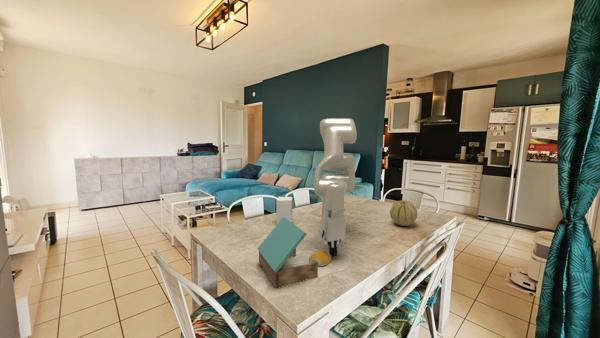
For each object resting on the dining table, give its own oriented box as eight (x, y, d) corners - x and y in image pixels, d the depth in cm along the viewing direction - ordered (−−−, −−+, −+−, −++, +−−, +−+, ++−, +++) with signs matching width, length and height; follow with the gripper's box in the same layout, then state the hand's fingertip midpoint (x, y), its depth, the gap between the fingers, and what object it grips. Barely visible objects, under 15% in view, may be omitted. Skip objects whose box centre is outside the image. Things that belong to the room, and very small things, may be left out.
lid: (285, 218, 101) (283, 216, 100) (306, 234, 84) (305, 232, 84) (258, 249, 97) (257, 248, 96) (276, 272, 80) (274, 271, 80)
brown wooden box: (295, 254, 105) (295, 242, 104) (317, 276, 88) (317, 262, 88) (259, 263, 97) (258, 250, 97) (276, 288, 81) (276, 273, 80)
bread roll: (334, 260, 101) (334, 251, 101) (323, 269, 94) (323, 259, 93) (317, 254, 106) (317, 245, 105) (305, 262, 99) (305, 253, 98)
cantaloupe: (411, 221, 149) (412, 197, 148) (420, 230, 135) (422, 203, 133) (386, 220, 151) (387, 196, 149) (393, 229, 136) (394, 202, 135)
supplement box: (291, 225, 140) (291, 200, 138) (276, 225, 140) (276, 200, 138) (292, 220, 149) (292, 196, 147) (277, 220, 149) (277, 196, 147)
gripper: (343, 208, 107) (341, 248, 109) (313, 212, 100) (313, 255, 102) (354, 212, 100) (352, 255, 102) (324, 218, 93) (323, 263, 95)
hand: (333, 255), depth 102 cm, fingers closed
